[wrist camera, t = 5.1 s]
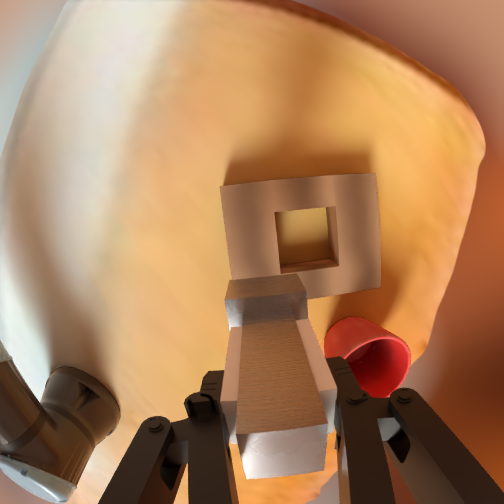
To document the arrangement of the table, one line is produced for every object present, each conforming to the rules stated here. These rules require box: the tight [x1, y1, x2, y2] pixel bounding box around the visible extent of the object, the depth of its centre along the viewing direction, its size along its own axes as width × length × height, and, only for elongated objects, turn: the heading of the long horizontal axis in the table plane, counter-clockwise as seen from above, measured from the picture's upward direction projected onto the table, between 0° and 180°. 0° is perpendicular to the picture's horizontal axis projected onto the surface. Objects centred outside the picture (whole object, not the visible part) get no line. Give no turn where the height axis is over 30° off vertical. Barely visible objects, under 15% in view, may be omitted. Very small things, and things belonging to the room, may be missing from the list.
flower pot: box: [324, 317, 411, 398], centre depth 35 cm, size 11×11×10 cm
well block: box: [220, 173, 381, 299], centre depth 34 cm, size 18×14×4 cm
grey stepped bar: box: [225, 273, 328, 479], centre depth 15 cm, size 5×5×14 cm
